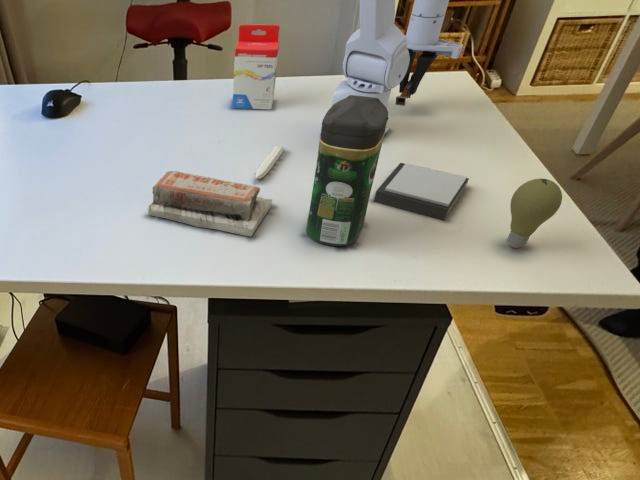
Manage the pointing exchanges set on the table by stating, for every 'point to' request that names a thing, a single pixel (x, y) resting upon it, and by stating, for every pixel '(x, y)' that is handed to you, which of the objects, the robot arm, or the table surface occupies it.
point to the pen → (269, 161)
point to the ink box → (255, 67)
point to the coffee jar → (346, 169)
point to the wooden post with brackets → (405, 92)
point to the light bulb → (532, 209)
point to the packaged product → (208, 203)
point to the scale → (421, 190)
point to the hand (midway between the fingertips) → (407, 92)
